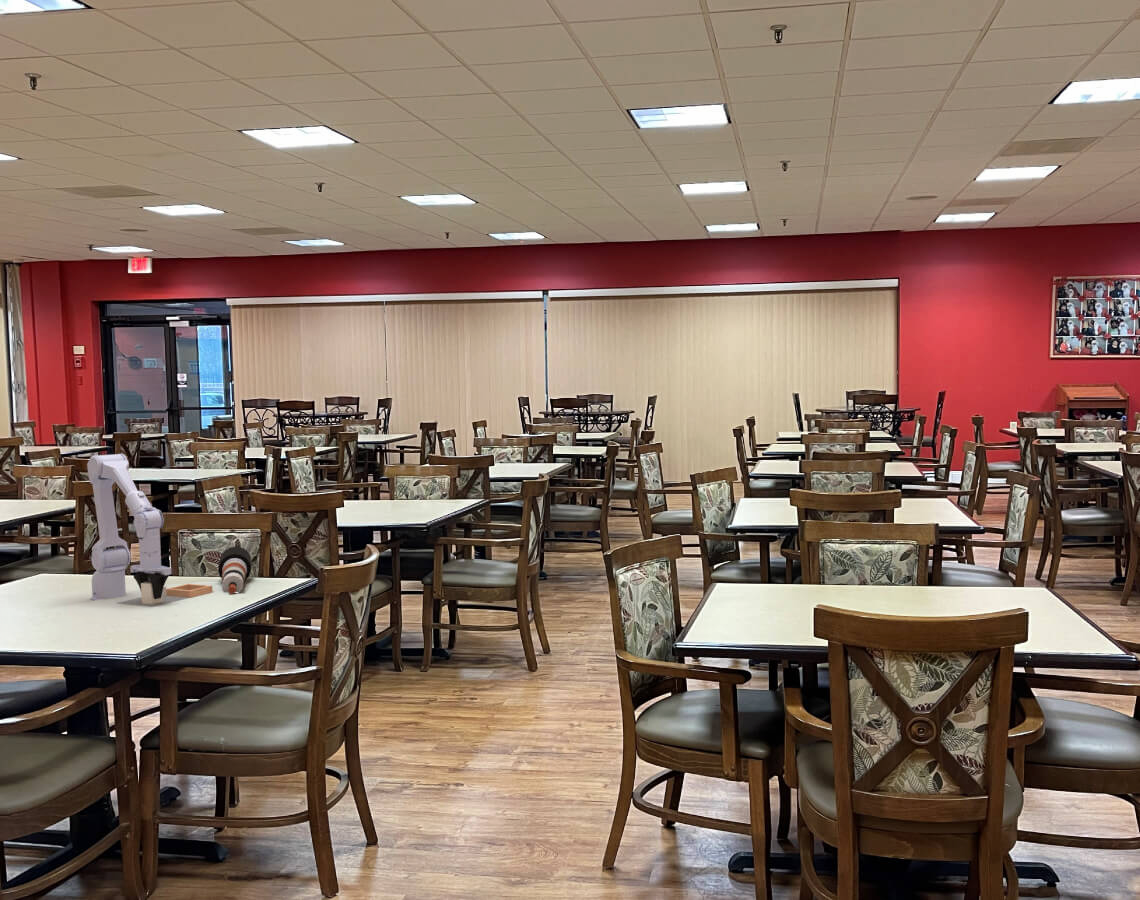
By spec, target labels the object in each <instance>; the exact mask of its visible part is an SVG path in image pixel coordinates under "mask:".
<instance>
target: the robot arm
mask: <svg viewBox="0 0 1140 900" xmlns="http://www.w3.org/2000/svg"><path fill="white" fill-rule="evenodd" d="M86 467H87V473H88V480H89V483H90V484H91V485H92V490H93V497H94V504H95V513H96V520H97V526H98V528H97V529H98V533H99V540H97V542H95V544H94V545H93V546H92V547H91V551H92V552H91V564H92V567H93V568H94V569H95V570H96V571H94V573H93V574H92V577H91V595H92V597H91V598H89V600H90V601H98V600H102V599H107V600H108V599H117V598H118V599H119V598H123V597H126V596H127V592H126V570H128V566H130V573H136V574H134V575H133V579H134V580H135V581H136V583H137V585H138V587H139V591H141V583H144V582H148V576H149V575H150V576H149V579H150V581H151V584H152V589H153V597H154V599H159V598H161V596H162V591H163V587H164V586H165V585H166V582H167V580H168V578H169V576H170V575H172V567H168V566H165V565H162V557H161V556H162V555H161V553H162V551H161V529H162V528H163V526H164V521H165V520H164V519H165V518H164V516H163V513H162V510H161V509H157V508H156V507H155V506H154V507H153V505H152V504H151V502H150V501H149V499H148V497H147V496H146V494H145V492H144V491H141V490H138V489H137V486H136V484H135V482H134V480H133V478H132V476H131V474H130V472H129V469H130V468H129V467H130V463H129V460H128V458H127V456H126V455H125V454H123V453H118V454H101V455H100V454H99V455H97V454H94V455H91V456H90V458H89V460H88V462H87V464H86ZM114 483H116V484H117V486H118V487H119V489H120V491H122V493H123V494H124V496H125V499H124V502H125V505H126V506H127V508H128V509H129V511H130V512H131V514H132V516H133V517H134V518H133V519H134V520H133V527H134V528H135V531H136V536H137V537H138V547H139V549H138V551H139V564H134V565H133V564H132V565H129V564H130V563H131V560H132V555H131V552H130V549H129V547H128V542H127V541H126V540H124V539H123V538H121V537H120V536H119V532H118V531H119V530H118V524H117V516H116V510H115V509H116V507H115V501H114V494H113V485H114Z"/></svg>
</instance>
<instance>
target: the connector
mask: <svg viewBox="0 0 1140 900" xmlns="http://www.w3.org/2000/svg"><path fill="white" fill-rule="evenodd" d="M149 576H150V575H149ZM149 576H148V582H144V583H141V590H140V593H141V596H140V597H142V604H156V603H160V602H163V599H162V596H161V598H159V599H154V597H153V589H152V584H151V581H150V579H149Z"/></svg>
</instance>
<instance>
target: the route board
mask: <svg viewBox="0 0 1140 900" xmlns="http://www.w3.org/2000/svg"><path fill="white" fill-rule="evenodd" d="M208 594H209V593H207V594H206V595H208ZM204 595H205V594H203V595H202V596H204ZM199 596H201V595H199ZM199 596H198V597H199ZM196 597H197V596H195V597H194V598H196ZM191 598H193V597H191ZM191 598H190V599H191ZM162 599H163V602H160V603H156V604H142V597H141V596H140V597H136V598H132V599H127V600H123V601H119V602H116V604H120V605H130V606H137V607H147V608H154V607H159V606H162V605H166V604H170V603H174V602H180V601H182V600H187V599H189V598H187V597H177V596H166V597H162Z"/></svg>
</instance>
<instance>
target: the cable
mask: <svg viewBox="0 0 1140 900" xmlns="http://www.w3.org/2000/svg"><path fill="white" fill-rule="evenodd" d="M252 562H253V561H252V557H251V554H250V553H249V552H248V550H247V549H245V548H243V547H241V546H231V547H228V548H226V549H225V550H224V551H223V552H222V553H221V556H220V557H219V564H218V569H217V571H218V574H219V578H220V579H221V582H222V589H223V591H224V593H228V594H231V595H232V594H236V593H235V592H239V593H240V592H241V591H242V589H243V588H244V583H245V581H247V579H249V577H250V574H251V572H252Z"/></svg>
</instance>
